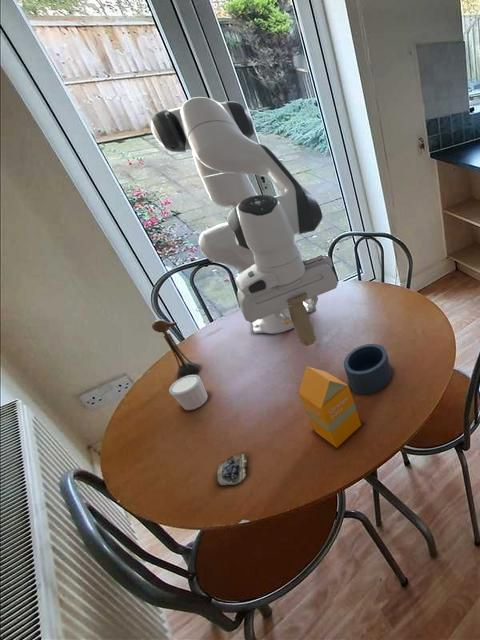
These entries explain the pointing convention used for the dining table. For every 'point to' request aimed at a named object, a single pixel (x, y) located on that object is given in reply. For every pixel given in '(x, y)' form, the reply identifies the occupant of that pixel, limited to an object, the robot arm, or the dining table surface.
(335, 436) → the orange juice
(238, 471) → the mineral rock
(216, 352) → the dining table surface
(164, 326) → the wooden tabletop sculpture
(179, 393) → the white ribbed cylinder
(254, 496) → the dining table surface
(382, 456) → the dining table surface
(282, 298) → the robot arm
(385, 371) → the jar
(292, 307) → the handle
